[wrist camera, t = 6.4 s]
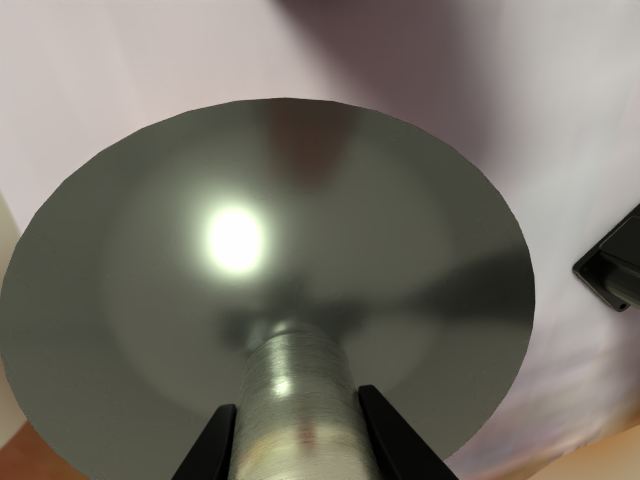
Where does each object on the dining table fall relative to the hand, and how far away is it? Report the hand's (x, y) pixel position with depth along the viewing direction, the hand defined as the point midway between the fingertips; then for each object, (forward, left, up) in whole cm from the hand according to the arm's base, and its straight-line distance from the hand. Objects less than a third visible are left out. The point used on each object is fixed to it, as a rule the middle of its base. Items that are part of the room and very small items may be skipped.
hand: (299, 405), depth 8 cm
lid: (0, 0, -2) cm, 2 cm away
